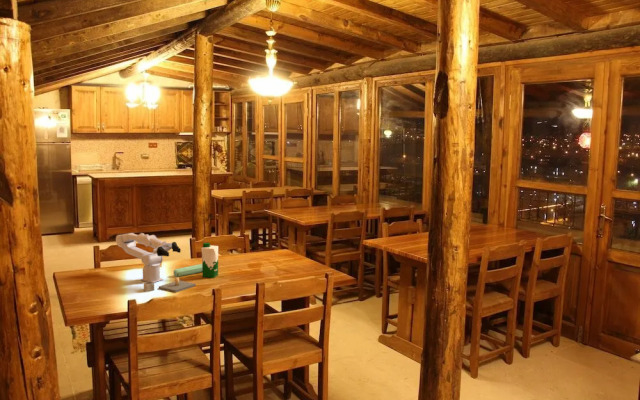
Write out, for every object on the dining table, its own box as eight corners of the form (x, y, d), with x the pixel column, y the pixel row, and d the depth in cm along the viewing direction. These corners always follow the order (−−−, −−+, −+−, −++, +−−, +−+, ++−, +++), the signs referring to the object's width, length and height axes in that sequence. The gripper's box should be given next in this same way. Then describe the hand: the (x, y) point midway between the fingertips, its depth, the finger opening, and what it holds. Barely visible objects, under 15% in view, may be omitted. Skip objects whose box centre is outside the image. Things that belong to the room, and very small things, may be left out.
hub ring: (141, 290, 303) (141, 283, 303) (149, 287, 308) (149, 280, 307) (148, 291, 300) (148, 284, 300) (156, 289, 305) (156, 282, 304)
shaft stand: (158, 288, 307) (158, 279, 306) (178, 282, 319) (178, 273, 319) (175, 292, 300) (175, 283, 299) (195, 285, 313) (195, 276, 312)
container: (175, 267, 328) (212, 260, 344) (171, 269, 332) (207, 262, 349) (177, 277, 327) (214, 269, 344) (173, 279, 331) (209, 271, 348)
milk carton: (206, 273, 338) (205, 241, 335) (220, 274, 336) (219, 242, 333) (200, 277, 329) (199, 244, 326) (214, 278, 327) (214, 245, 325)
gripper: (148, 242, 308) (163, 249, 300) (170, 235, 319) (184, 242, 311) (148, 253, 311) (163, 261, 303) (170, 246, 321) (185, 254, 313)
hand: (174, 252), depth 307 cm, fingers open, 7 cm apart
